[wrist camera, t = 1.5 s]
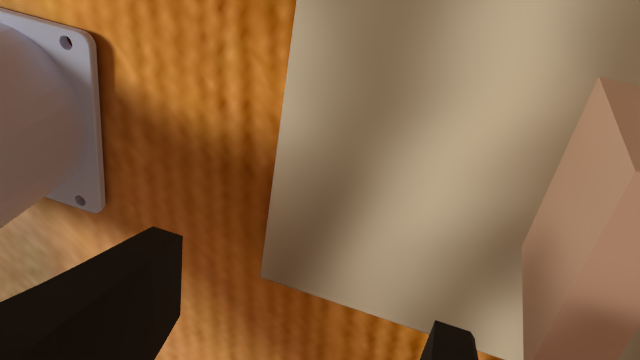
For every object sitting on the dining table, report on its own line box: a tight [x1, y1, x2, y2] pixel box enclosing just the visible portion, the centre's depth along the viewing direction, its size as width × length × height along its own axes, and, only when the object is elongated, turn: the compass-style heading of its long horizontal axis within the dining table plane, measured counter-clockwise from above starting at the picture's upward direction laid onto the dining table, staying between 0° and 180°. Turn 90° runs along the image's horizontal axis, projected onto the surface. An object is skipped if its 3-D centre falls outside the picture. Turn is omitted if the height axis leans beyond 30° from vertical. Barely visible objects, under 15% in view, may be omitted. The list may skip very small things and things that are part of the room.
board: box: [260, 0, 640, 360], centre depth 17 cm, size 17×16×1 cm
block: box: [522, 77, 640, 360], centre depth 14 cm, size 2×6×6 cm, turn 171°
